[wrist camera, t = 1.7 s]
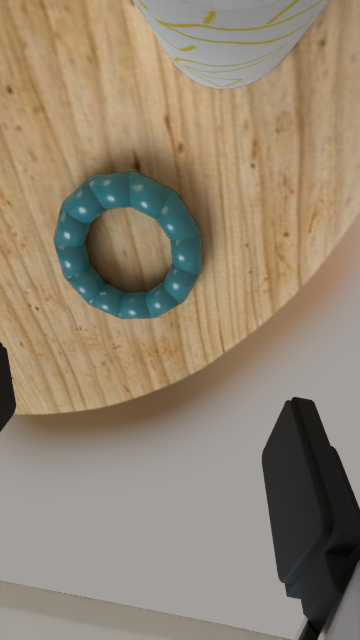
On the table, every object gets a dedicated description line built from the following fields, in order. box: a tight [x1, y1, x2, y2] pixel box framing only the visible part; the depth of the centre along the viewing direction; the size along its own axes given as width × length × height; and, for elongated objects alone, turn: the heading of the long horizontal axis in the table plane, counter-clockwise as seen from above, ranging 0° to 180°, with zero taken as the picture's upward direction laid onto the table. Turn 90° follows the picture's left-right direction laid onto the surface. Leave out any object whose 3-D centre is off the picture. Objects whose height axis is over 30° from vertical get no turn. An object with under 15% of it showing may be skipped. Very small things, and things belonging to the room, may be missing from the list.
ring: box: [54, 172, 202, 319], centre depth 21 cm, size 10×10×2 cm
